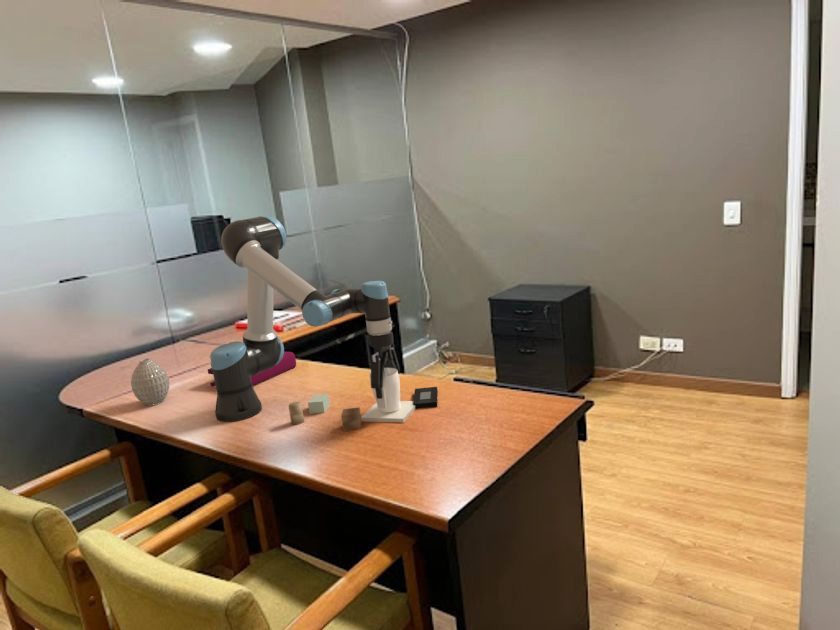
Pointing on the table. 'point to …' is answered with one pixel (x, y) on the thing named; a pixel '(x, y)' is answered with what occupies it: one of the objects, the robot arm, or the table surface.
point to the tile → (395, 416)
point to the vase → (150, 382)
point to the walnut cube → (351, 419)
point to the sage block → (318, 403)
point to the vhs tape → (425, 397)
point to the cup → (390, 390)
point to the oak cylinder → (296, 413)
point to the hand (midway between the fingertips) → (389, 400)
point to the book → (282, 366)
